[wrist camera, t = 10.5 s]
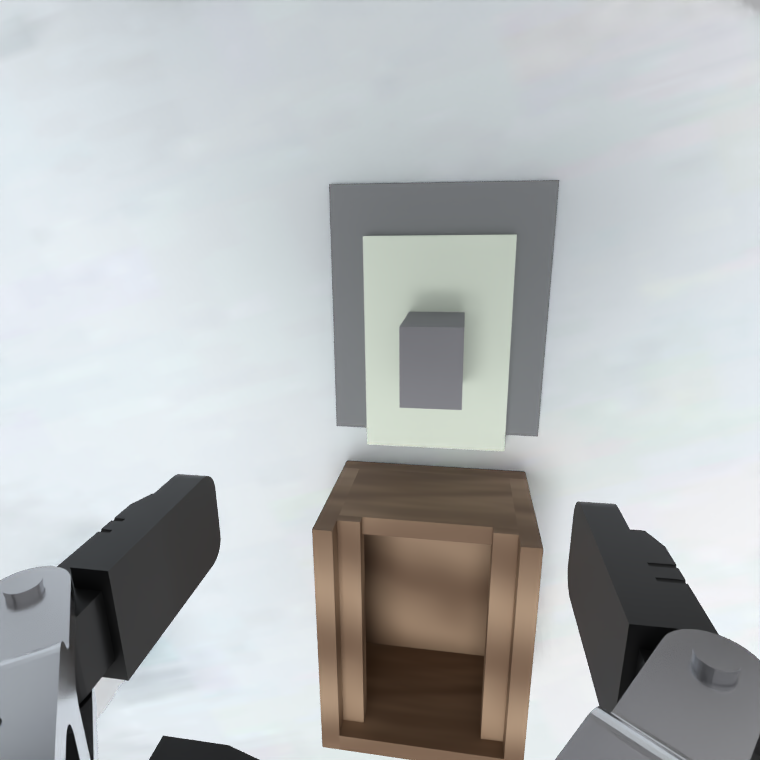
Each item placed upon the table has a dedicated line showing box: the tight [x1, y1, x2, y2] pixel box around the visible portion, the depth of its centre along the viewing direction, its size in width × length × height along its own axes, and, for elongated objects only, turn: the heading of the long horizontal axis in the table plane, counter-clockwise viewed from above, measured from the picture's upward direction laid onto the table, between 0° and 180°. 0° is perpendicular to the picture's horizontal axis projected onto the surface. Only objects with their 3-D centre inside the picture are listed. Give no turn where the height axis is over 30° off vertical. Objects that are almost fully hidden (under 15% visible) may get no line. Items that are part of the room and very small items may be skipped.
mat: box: [329, 180, 559, 436], centre depth 30 cm, size 14×12×1 cm
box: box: [312, 461, 543, 760], centre depth 31 cm, size 14×11×8 cm
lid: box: [363, 234, 517, 452], centre depth 28 cm, size 12×8×6 cm, turn 1°
